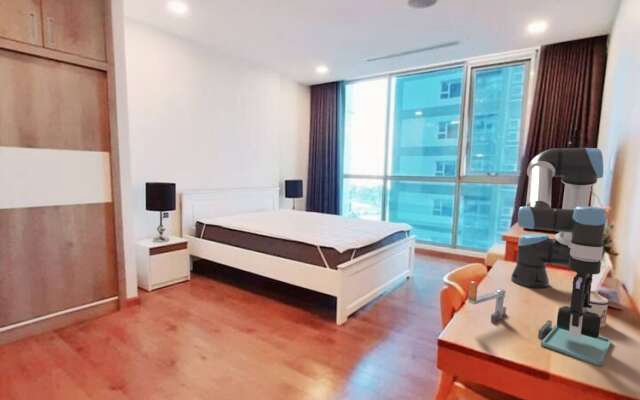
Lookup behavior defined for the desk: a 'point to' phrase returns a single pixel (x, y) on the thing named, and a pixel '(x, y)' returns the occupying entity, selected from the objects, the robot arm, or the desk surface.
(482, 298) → the crank handle
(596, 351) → the tray
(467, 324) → the desk surface
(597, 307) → the teacup with lid
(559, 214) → the robot arm
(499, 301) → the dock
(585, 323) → the end cap
